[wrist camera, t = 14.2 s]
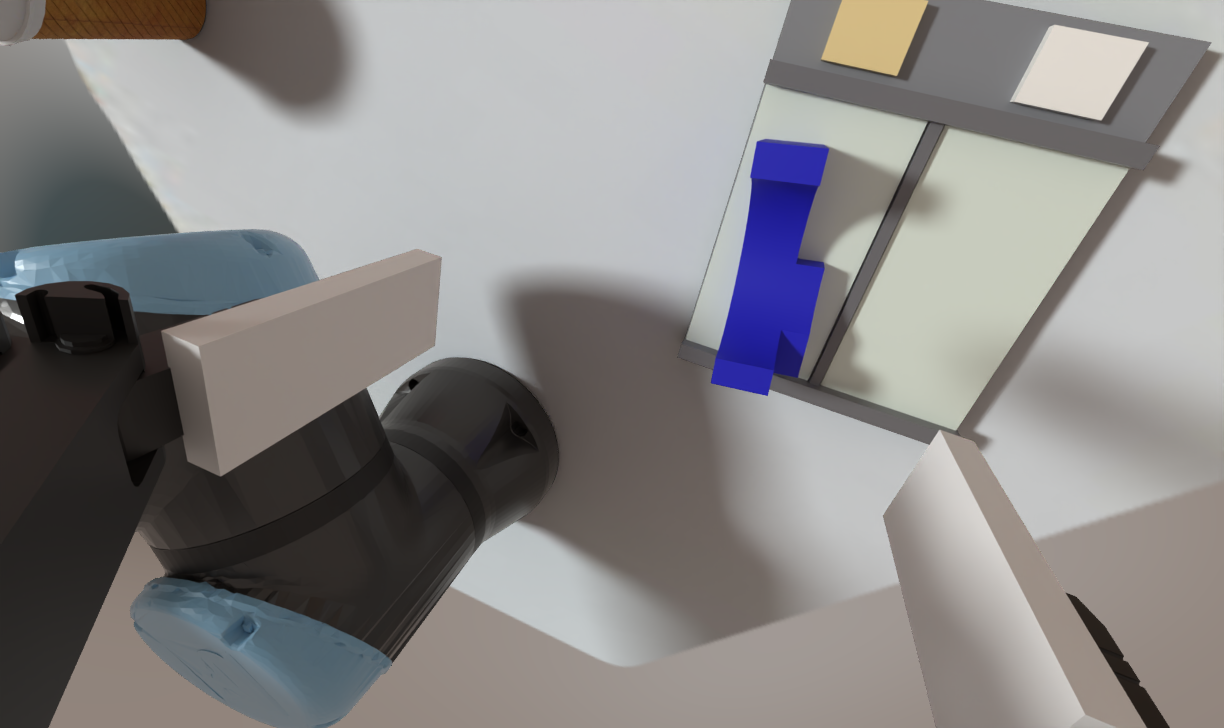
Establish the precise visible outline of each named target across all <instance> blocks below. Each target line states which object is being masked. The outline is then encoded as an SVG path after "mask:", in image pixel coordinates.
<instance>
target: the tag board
mask: <svg viewBox="0 0 1224 728" xmlns="http://www.w3.org/2000/svg"><path fill="white" fill-rule="evenodd" d="M1211 43H1212V42H1206V41H1201V40H1196V39H1190V38H1185V37H1179V36H1174V35H1169V34H1163V33H1158V32H1153V31H1147V30H1142V29H1136V28H1131V27H1126V26H1120V25H1115V24H1109V23H1104V22H1099V21H1093V20H1088V19H1082V18H1077V17H1072V16H1066V15H1061V14H1056V13H1050V12H1045V11H1039V10H1034V9H1029V8H1023V7H1018V6H1012V5H1007V4H1002V3H996V2H991V1H986V0H791V2H790V6H789V9H788V12H787V15H786V18H785V21H784V25H783V28H782V31H781V34H780V37H779V41H778V44H777V47H776V50H775V53H774V56H773V60H772V59H770V63H769V66H768V69H767V72H766V75H765V79H764V83H765V85H764V88H763V91H762V95H761V98H760V101H759V104H758V107H757V110H756V114H755V117H754V120H753V123H752V126H751V130H750V133H749V136H748V139H747V142H746V145H745V149H744V152H743V155H742V158H741V161H740V165H739V168H738V171H737V174H736V177H735V180H734V184H733V187H732V190H731V193H730V196H729V200H728V203H727V206H726V209H725V212H724V215H723V219H722V222H721V225H720V228H719V231H718V235H717V238H716V241H715V244H714V247H713V250H712V254H711V257H710V260H709V263H708V266H707V269H706V273H705V276H704V279H703V282H702V285H701V289H700V292H699V295H698V298H697V301H696V304H695V308H694V311H693V314H692V317H691V320H690V324H689V327H688V330H687V333H686V336H685V338H684V340H683V342H682V344H681V347H680V350H679V354H678V358H681V359H683V360H686V361H689V362H692V363H695V364H698V365H701V366H704V367H707V368H709V369H712V370H713V369H714V364H715V358H716V355H717V352H718V349H719V346H720V343H721V339H722V336H723V332H724V328H725V324H726V320H727V316H728V312H729V308H730V304H731V299H732V295H733V290H734V286H735V281H736V277H737V272H738V267H739V262H740V257H741V252H742V247H743V241H744V236H745V230H746V224H747V218H748V212H749V205H750V197H751V185H752V180H751V178H750V174H751V169H752V164H753V159H754V153H755V148H756V143H757V141H760V140H763V139H773V140H784V141H794V142H804V143H814V144H824V145H825V146H827V147H828V148H829V152H828V156H827V160H826V164H825V168H824V172H823V176H822V180H821V184H820V186H819V187H818V189H817V191H816V194H815V197H814V200H813V203H812V206H811V210H810V213H809V217H808V220H807V224H806V227H805V231H804V235H803V239H802V242H801V246H800V250H799V254H798V258H800V259H806V260H813V261H819V262H824V266H825V270H824V273H823V277H822V281H821V285H820V289H819V293H818V297H817V302H816V306H815V310H814V315H813V320H812V325H811V330H810V335H809V339H808V342H807V346H806V350H805V353H804V357H803V361H802V364H801V368H800V372H799V375H798V378H795V377H791V376H786V375H781V374H776V373H773V376H772V380H771V384H770V388H769V389H770V390H773V391H776V392H779V393H782V394H785V395H787V396H790V397H793V398H796V399H799V400H802V401H805V402H808V403H811V404H813V405H816V406H819V407H822V408H825V409H828V410H831V411H834V412H837V413H839V414H842V415H845V416H848V417H851V418H854V419H857V420H860V421H863V422H865V423H868V424H871V425H874V426H877V427H880V428H883V429H886V430H889V431H891V432H894V433H897V434H900V435H903V436H906V437H909V438H912V439H915V440H918V441H920V442H923V443H926V444H929V445H930V443H931V442H932V440H933V439H934V437H935V436H936V434H937V433H938V431H939V430H942V431H945V432H948V433H951V434H954V435H957V436H960V435H959V433H958V431H957V428H958V427H959V425H960V424H961V422H962V421H963V419H964V418H965V416H966V415H967V413H968V412H969V410H970V409H971V407H972V406H973V404H974V403H975V401H976V400H977V398H978V397H979V395H980V394H981V392H982V391H983V389H984V388H985V386H986V385H987V383H988V382H989V380H990V379H991V377H992V375H993V374H994V372H995V371H996V369H997V368H998V366H999V365H1000V363H1001V362H1002V360H1003V359H1004V357H1005V356H1006V354H1007V353H1008V351H1009V350H1010V348H1011V347H1012V345H1013V344H1014V342H1015V341H1016V339H1017V338H1018V336H1019V335H1020V333H1021V332H1022V330H1023V329H1024V327H1025V326H1026V324H1027V323H1028V321H1029V320H1030V318H1031V317H1032V315H1033V314H1034V312H1035V311H1036V309H1037V308H1038V306H1039V304H1040V303H1041V301H1042V300H1043V298H1044V297H1045V295H1046V294H1047V292H1048V291H1049V289H1050V288H1051V286H1052V285H1053V283H1054V282H1055V280H1056V279H1057V277H1058V276H1059V274H1060V273H1061V271H1062V270H1063V268H1064V267H1065V265H1066V264H1067V262H1068V261H1069V259H1070V258H1071V256H1072V255H1073V253H1074V252H1075V250H1076V249H1077V247H1078V246H1079V244H1080V243H1081V241H1082V240H1083V238H1084V236H1085V235H1086V233H1087V232H1088V230H1089V229H1090V227H1091V226H1092V224H1093V223H1094V221H1095V220H1096V218H1097V217H1098V215H1099V214H1100V212H1101V211H1102V209H1103V208H1104V206H1105V205H1106V203H1107V202H1108V200H1109V199H1110V197H1111V196H1112V194H1113V193H1114V191H1115V190H1116V188H1117V187H1118V185H1119V184H1120V182H1121V181H1122V179H1123V178H1124V176H1125V175H1126V173H1127V172H1128V170H1129V169H1130V168H1132V169H1140V170H1144V169H1145V167H1146V166H1147V164H1148V163H1149V161H1150V160H1151V158H1152V157H1153V155H1154V154H1155V152H1156V151H1157V150H1158V148H1159V147H1160V146H1158V145H1154V144H1149V143H1146V141H1147V140H1148V138H1149V137H1150V135H1151V134H1152V132H1153V131H1154V129H1155V128H1156V126H1157V124H1158V123H1159V121H1160V120H1161V118H1162V117H1163V115H1164V114H1165V112H1166V111H1167V109H1168V108H1169V106H1170V105H1171V103H1172V102H1173V100H1174V99H1175V97H1176V96H1177V94H1178V93H1179V91H1180V90H1181V88H1182V87H1183V85H1184V84H1185V82H1186V81H1187V79H1188V78H1189V76H1190V75H1191V73H1192V72H1193V70H1194V69H1195V67H1196V65H1197V64H1198V62H1199V61H1200V59H1201V58H1202V56H1203V55H1204V53H1205V52H1206V50H1207V49H1208V47H1209V46H1210V44H1211Z"/></svg>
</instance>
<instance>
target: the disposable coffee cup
mask: <svg viewBox="0 0 1224 728" xmlns="http://www.w3.org/2000/svg"><path fill="white" fill-rule="evenodd" d="M205 13H206V2H205V0H0V45H3V46H10V45H13V44H16V43H19V42H23V41H28V40H30V39H50V38H51V39H62V38H63V39H85V38H86V39H182V40H186V39H191V38H193V37H195V36H196V35H197V34H198V33H199V32H200V30H201V28H202V26H203V24H204V20H205Z"/></svg>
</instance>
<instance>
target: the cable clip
mask: <svg viewBox="0 0 1224 728" xmlns="http://www.w3.org/2000/svg"><path fill="white" fill-rule="evenodd" d="M828 152H829V148H828V147H827V146H825V145H824V144H814V143H804V142H794V141H784V140H773V139H763V140H760V141H757V143H756V148H755V153H754V159H753V164H752V169H751V174H750V178H751V180H752V185H751V197H750V205H749V212H748V218H747V224H746V230H745V236H744V241H743V247H742V252H741V257H740V262H739V267H738V272H737V277H736V281H735V286H734V290H733V295H732V299H731V304H730V308H729V312H728V316H727V320H726V324H725V328H724V332H723V336H722V339H721V343H720V346H719V349H718V352H717V355H716V358H715V364H714V369H713V374H712V379H711V383H712V384H717V385H721V386H726V387H730V388H735V389H739V390H744V391H748V392H753V393H757V394H762V395H766V396H768V392H769V388H770V384H771V380H772V376H773V373H776V374H781V375H786V376H791V377H795V378H798V375H799V372H800V368H801V364H802V361H803V357H804V353H805V350H806V346H807V342H808V339H809V335H810V330H811V325H812V320H813V315H814V310H815V306H816V302H817V297H818V293H819V289H820V285H821V281H822V277H823V273H824V270H825V266H824V262H819V261H813V260H806V259H800V258H798V254H799V250H800V246H801V242H802V239H803V235H804V231H805V227H806V224H807V220H808V217H809V213H810V210H811V206H812V203H813V200H814V197H815V194H816V191H817V189H818V187H819V186H820V184H821V180H822V176H823V172H824V168H825V164H826V160H827V156H828Z"/></svg>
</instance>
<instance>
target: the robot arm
mask: <svg viewBox="0 0 1224 728" xmlns="http://www.w3.org/2000/svg"><path fill="white" fill-rule="evenodd" d="M441 260H442V257H440V256H437V255H434V254H431V253H428V252H425V251H422V250H419V249H415V250H412V251H409V252H406V253H403V254H400V255H396V256H393V257H390V258H387V259H384V260H381V261H378V262H375V263H371V264H368V265H365V266H362V267H359V268H356V269H353V270H350V271H346V272H343V273H340V274H337V275H334V276H331V277H328V278H325V279H321V280H319V278H318V276H317V274H316V272H315V270H314V268H313V266H312V264H311V262H310V260H309V258H308V256H307V254H306V253H305V251H304V250H303V249H302V248H301V246H300V245H298V244H297V243H296V242H295V241H293V240H292V239H290V238H288V237H287V236H285V235H282V234H280V233H277V232H273V231H269V230H257V229H247V230H221V231H205V232H189V233H175V234H162V235H150V236H138V237H127V238H115V239H104V240H94V241H84V242H74V243H65V244H55V245H47V246H40V247H31V248H27V249H19V250H14V251H9V252H4V253H0V728H48V727H49V725H50V723H51V720H52V718H53V716H54V714H55V711H56V709H57V707H58V704H59V702H60V700H61V698H62V695H63V693H64V691H65V688H66V686H67V684H68V682H69V680H70V677H71V675H72V673H73V671H74V668H75V666H76V664H77V662H78V659H79V657H80V655H81V652H82V650H83V648H84V646H85V643H86V641H87V639H88V636H89V634H90V632H91V630H92V627H93V625H94V623H95V621H96V618H97V616H98V614H99V612H100V609H101V607H102V605H103V603H104V600H105V598H106V596H107V594H108V591H109V589H110V587H111V585H112V582H113V580H114V578H115V575H116V573H117V571H118V569H119V566H120V564H121V562H122V560H123V557H124V555H125V553H126V551H127V548H128V546H129V544H130V542H131V539H132V537H133V535H134V533H135V532H139V533H140V535H141V536H142V537H143V538H144V539H145V541H146V542H147V543H148V544H149V546H150V547H151V548H152V550H153V552H154V553H155V554H156V556H157V558H158V559H159V561H160V562H161V564H162V566H163V568H164V570H165V576H163V577H160V578H155V579H153V580H152V581H150V582H148V583H147V584H146V585H145V587H144V590H143V591H142V592H141V593H140V594H139V595H138V597H137V598H136V599H135V600H134V602H133V603H132V605H131V609H130V614H131V618H132V619H134V620H135V622H134V627H135V629H136V631H137V632H138V634H139V635H140V636H141V638H142V639H143V641H144V642H145V643H146V644H147V645H148V646H149V647H150V648H151V649H152V650H153V652H155V653H156V654H157V655H158V656H159V657H160V658H161V659H162V660H163V661H164V662H165V663H166V664H168V665H169V666H170V667H171V668H172V669H173V670H175V671H176V672H178V673H179V674H180V675H181V676H183V677H184V678H185V679H187V680H188V681H189V682H190V683H192V684H193V685H195V686H196V687H198V688H199V689H200V690H202V691H203V692H205V693H206V694H208V695H210V696H211V697H213V698H215V699H217V700H218V701H220V702H222V703H223V704H225V705H227V706H229V707H230V708H232V709H234V710H236V711H238V712H240V713H242V714H244V715H246V716H248V717H250V718H252V719H255V720H257V721H259V722H262V723H265V724H268V725H270V726H273V727H277V728H327V727H329V726H331V725H333V724H335V723H337V722H338V721H340V720H341V719H342V718H343V717H344V716H346V715H347V714H348V713H349V712H350V710H351V709H352V708H353V707H354V706H355V705H356V703H357V702H358V701H359V700H360V699H361V698H362V696H363V695H364V694H365V693H366V692H367V691H368V689H369V688H370V687H371V686H372V685H373V684H374V682H375V681H376V680H377V679H378V678H379V677H380V675H382V674H385V673H386V672H387V671H388V670H389V668H390V666H392V663H393V662H394V660H395V659H396V658H397V656H398V655H399V654H400V652H401V651H402V649H403V648H404V647H405V645H406V644H407V643H408V641H409V640H410V638H411V637H412V636H413V635H414V633H415V632H416V630H417V629H418V628H419V627H420V625H421V624H422V622H423V621H424V620H425V618H426V617H427V616H428V614H429V613H430V612H431V610H432V609H433V608H434V606H435V605H436V603H437V602H438V601H439V599H440V598H441V596H442V595H443V594H444V593H445V591H446V590H447V589H448V587H449V586H450V585H451V583H452V582H453V581H454V579H455V578H456V576H457V575H458V574H459V572H460V571H461V570H462V568H463V567H464V566H465V564H466V563H467V562H468V560H469V559H470V557H471V556H472V555H473V553H474V552H475V551H476V550H477V548H478V547H479V546H480V545H481V544H482V543H483V542H484V541H486V540H487V539H489V538H491V537H492V536H494V535H495V534H497V533H499V532H500V531H502V530H503V529H505V528H507V527H508V526H510V525H511V524H513V523H514V522H516V521H517V520H519V519H521V518H522V517H524V516H525V515H527V514H528V513H530V512H531V511H532V510H533V509H534V508H535V507H536V506H537V505H538V504H539V502H540V501H541V500H542V498H543V497H544V495H545V494H546V492H547V491H548V490H549V488H550V487H551V485H552V483H553V481H554V479H555V476H556V473H557V468H558V446H557V440H556V436H555V433H554V430H553V428H552V425H551V423H550V421H549V419H548V417H547V415H546V413H545V412H544V410H543V408H542V407H541V405H540V404H539V403H538V401H537V400H536V399H535V398H534V396H533V395H532V394H531V393H530V392H529V391H528V390H527V389H526V388H525V387H524V386H523V385H522V384H521V383H519V382H518V381H517V380H516V379H514V378H513V377H512V376H510V375H509V374H507V373H506V372H504V371H502V370H500V369H499V368H497V367H495V366H493V365H490V364H488V363H485V362H482V361H479V360H475V359H470V358H459V357H455V358H445V359H441V360H438V361H435V362H433V363H431V364H429V365H427V366H425V367H424V368H422V369H421V370H419V371H418V372H416V373H415V374H413V375H412V376H410V377H409V378H408V379H407V380H406V381H404V382H403V383H402V384H401V386H400V387H399V388H398V389H397V391H396V392H395V394H394V395H393V397H392V398H391V400H390V401H389V403H388V404H387V406H386V407H385V409H384V410H383V412H382V413H381V415H380V416H378V414H377V412H376V409H375V407H374V405H373V402H372V400H371V397H370V395H369V393H368V390H367V388H366V387H368V386H370V385H371V384H373V383H375V382H376V381H378V380H380V379H381V378H383V377H384V376H386V375H388V374H389V373H391V372H393V371H394V370H396V369H397V368H399V367H401V366H402V365H404V364H406V363H407V362H409V361H411V360H412V359H414V358H415V357H417V356H419V355H420V354H422V353H424V352H425V351H427V350H429V349H430V348H432V347H433V346H435V338H436V325H437V312H438V299H439V286H440V273H441ZM883 518H884V522H885V526H886V530H887V534H888V538H889V542H890V546H891V550H892V554H893V558H894V562H895V566H896V570H897V574H898V578H899V582H900V586H901V590H902V594H903V598H904V602H905V606H906V610H907V614H908V618H909V622H910V626H911V630H912V634H913V638H914V642H915V646H916V650H917V654H918V658H919V662H920V665H921V670H922V674H923V678H924V682H925V686H926V690H927V694H928V698H929V702H930V706H931V710H932V714H933V718H934V722H935V726H936V728H1170V727H1169V726H1168V724H1167V723H1166V721H1165V719H1164V718H1163V716H1162V715H1161V713H1160V712H1159V710H1158V708H1157V707H1156V705H1155V704H1154V702H1153V701H1152V699H1151V698H1150V696H1149V694H1148V693H1147V691H1146V690H1145V689H1144V688H1143V687H1141V686H1139V682H1140V680H1139V679H1138V678H1137V676H1136V674H1135V673H1134V671H1133V669H1132V668H1131V666H1130V665H1129V663H1128V662H1126V661H1123V657H1124V656H1123V654H1122V652H1121V651H1120V649H1119V648H1118V646H1117V645H1116V643H1115V641H1114V640H1113V638H1112V637H1111V635H1110V634H1109V632H1108V631H1107V629H1106V627H1105V626H1104V625H1103V624H1102V623H1101V622H1100V621H1099V620H1098V619H1097V618H1096V617H1095V616H1094V615H1093V614H1092V613H1091V612H1090V611H1089V609H1088V608H1087V607H1086V606H1085V605H1084V604H1082V602H1081V601H1080V600H1079V599H1078V598H1077V597H1075V596H1073V595H1070V594H1068V593H1065V591H1064V590H1063V588H1062V586H1061V585H1060V583H1059V581H1058V580H1057V578H1056V576H1055V575H1054V573H1053V571H1052V570H1051V568H1050V567H1049V565H1048V563H1047V561H1046V560H1045V558H1044V557H1043V555H1042V553H1041V551H1040V550H1039V548H1038V546H1037V545H1036V543H1035V541H1034V540H1033V538H1032V536H1031V535H1030V533H1029V531H1028V530H1027V528H1026V526H1025V525H1024V523H1023V522H1022V520H1021V518H1020V517H1019V515H1018V513H1017V512H1016V510H1015V508H1014V507H1013V505H1012V503H1011V502H1010V500H1009V498H1008V497H1007V495H1006V493H1005V492H1004V490H1003V488H1002V487H1001V485H1000V483H999V482H998V480H997V478H996V477H995V475H994V473H993V472H992V470H991V468H990V467H989V465H988V463H987V462H986V460H985V458H984V457H983V455H982V454H981V452H980V450H979V449H978V447H977V445H976V444H975V442H974V441H971V440H968V439H965V438H962V437H960V436H957V435H954V434H951V433H948V432H945V431H942V430H939V431H938V433H937V434H936V436H935V437H934V439H933V440H932V442H931V443H930V445H929V447H928V448H927V450H926V451H925V453H924V454H923V456H922V457H921V459H920V460H919V462H918V463H917V465H916V466H915V468H914V469H913V471H912V472H911V474H910V475H909V477H908V478H907V480H906V481H905V483H904V484H903V486H902V487H901V489H900V490H899V492H898V493H897V495H896V496H895V498H894V500H893V501H892V503H891V504H890V506H889V507H888V509H887V510H886V512H885V513H884V515H883Z"/></svg>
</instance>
